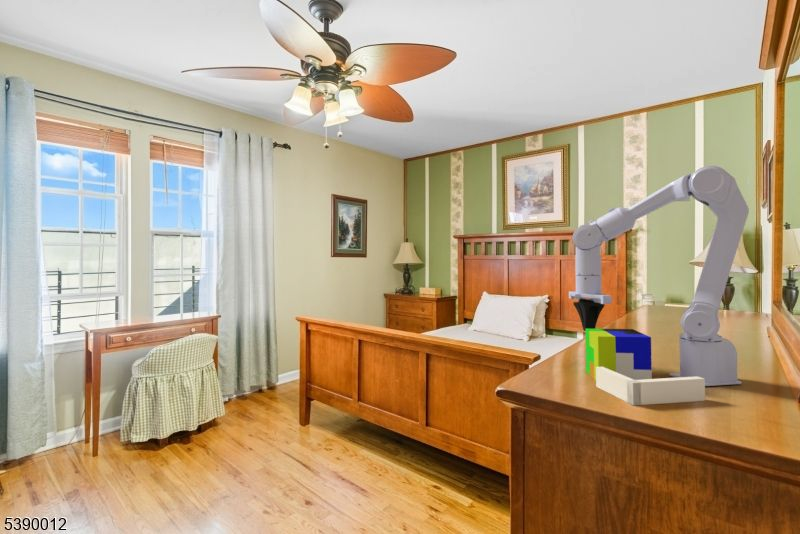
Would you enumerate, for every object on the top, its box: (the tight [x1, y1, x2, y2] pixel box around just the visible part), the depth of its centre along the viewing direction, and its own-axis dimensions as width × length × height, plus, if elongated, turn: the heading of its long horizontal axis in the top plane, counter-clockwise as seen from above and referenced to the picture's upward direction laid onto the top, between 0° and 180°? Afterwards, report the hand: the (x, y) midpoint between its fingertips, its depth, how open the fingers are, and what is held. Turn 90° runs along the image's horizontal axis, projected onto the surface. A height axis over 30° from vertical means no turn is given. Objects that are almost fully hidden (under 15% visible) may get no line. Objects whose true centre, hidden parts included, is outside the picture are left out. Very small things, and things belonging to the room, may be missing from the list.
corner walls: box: [595, 367, 706, 406], centre depth 76 cm, size 14×11×4 cm
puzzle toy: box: [585, 328, 653, 381], centre depth 86 cm, size 10×10×10 cm
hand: (588, 330), depth 96 cm, fingers closed
